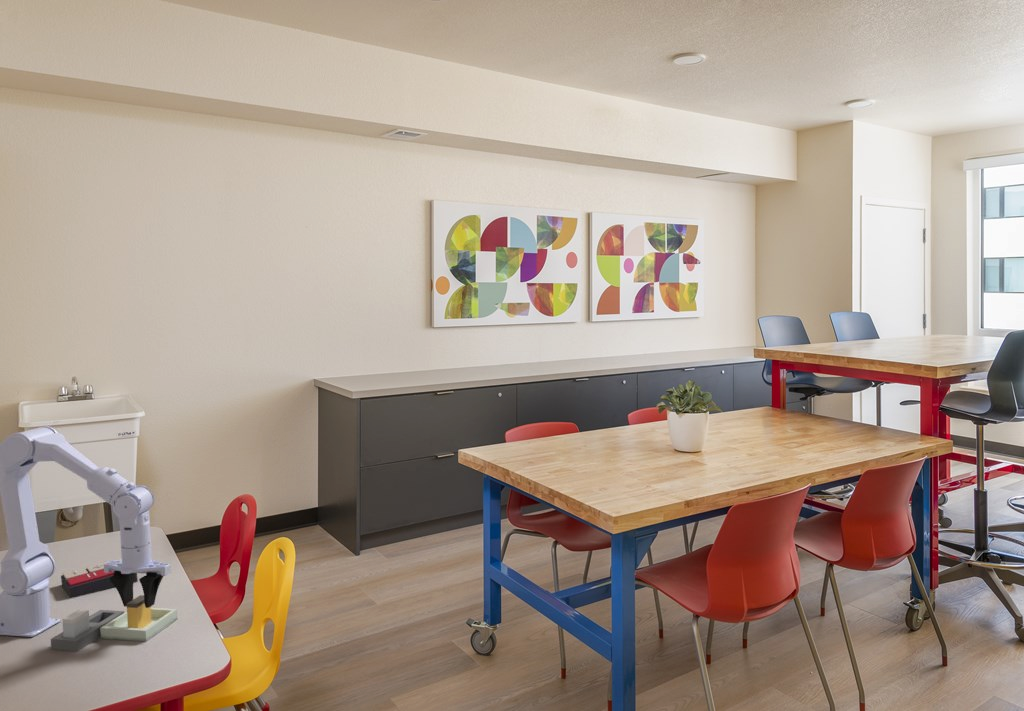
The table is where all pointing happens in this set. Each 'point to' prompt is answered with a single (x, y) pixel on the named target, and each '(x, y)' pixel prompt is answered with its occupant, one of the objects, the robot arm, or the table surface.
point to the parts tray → (122, 632)
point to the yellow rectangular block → (138, 613)
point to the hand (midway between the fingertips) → (139, 605)
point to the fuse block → (89, 635)
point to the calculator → (88, 580)
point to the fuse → (76, 624)
